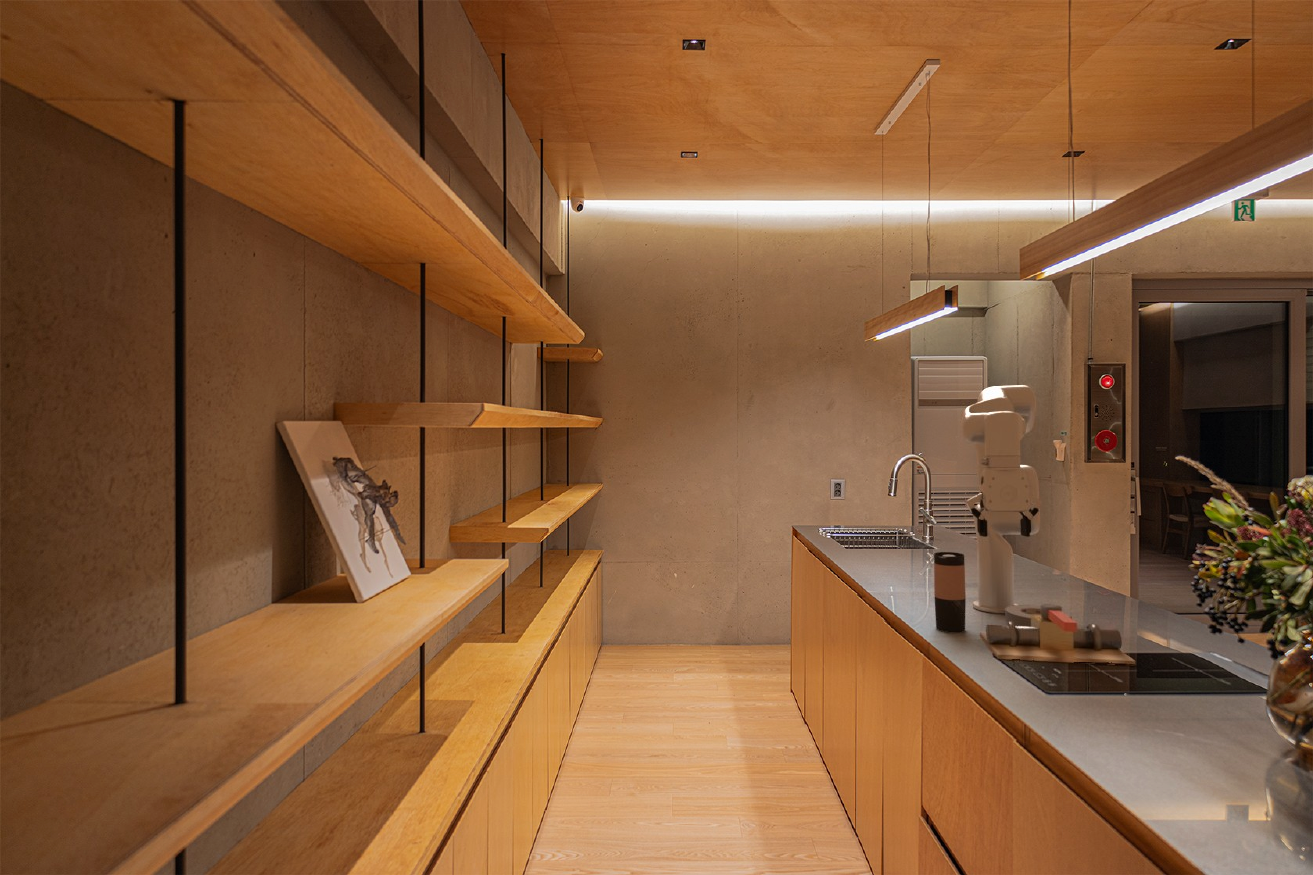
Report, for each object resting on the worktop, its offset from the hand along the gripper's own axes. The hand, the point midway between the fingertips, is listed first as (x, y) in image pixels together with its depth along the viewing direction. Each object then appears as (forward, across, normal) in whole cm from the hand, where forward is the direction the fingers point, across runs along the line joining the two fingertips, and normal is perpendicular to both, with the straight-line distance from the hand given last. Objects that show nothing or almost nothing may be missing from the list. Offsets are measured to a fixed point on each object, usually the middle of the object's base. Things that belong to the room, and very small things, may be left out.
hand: (1004, 536), depth 163 cm
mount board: (+28, +12, +3) cm, 30 cm away
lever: (+20, +11, -3) cm, 23 cm away
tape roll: (+27, +17, +20) cm, 38 cm away
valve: (+28, +12, +3) cm, 30 cm away
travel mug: (+27, -5, +21) cm, 35 cm away
